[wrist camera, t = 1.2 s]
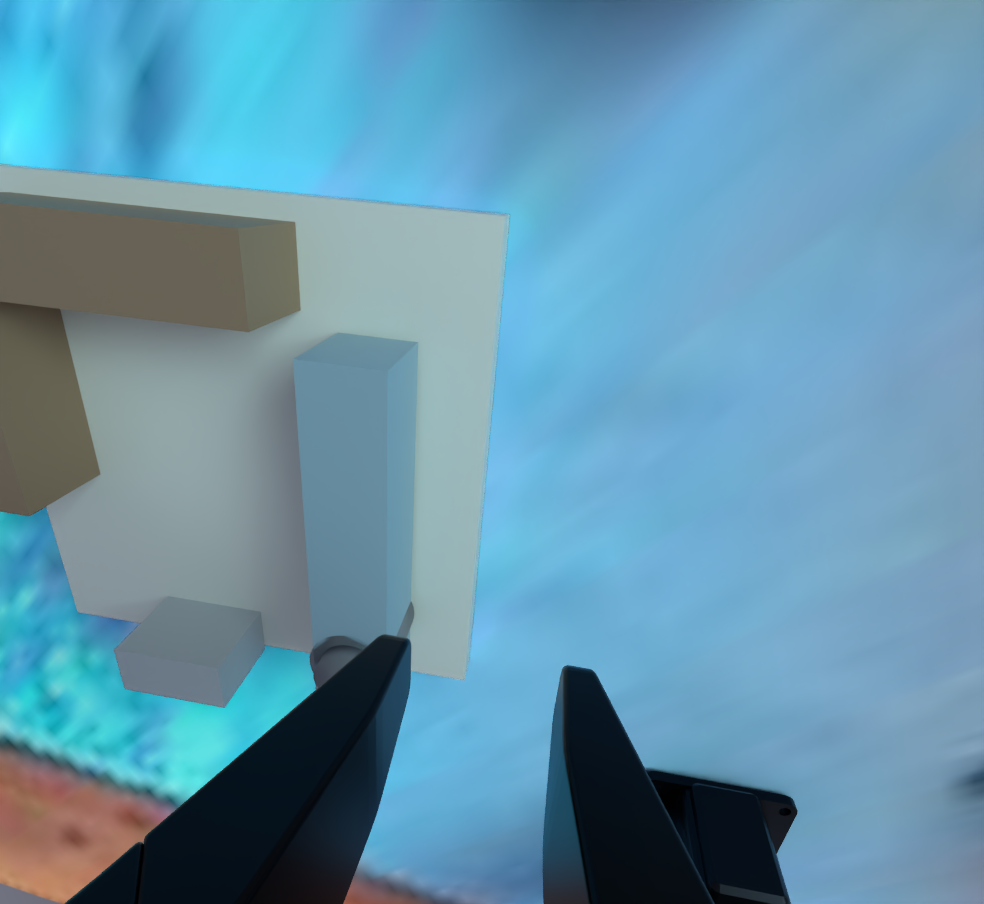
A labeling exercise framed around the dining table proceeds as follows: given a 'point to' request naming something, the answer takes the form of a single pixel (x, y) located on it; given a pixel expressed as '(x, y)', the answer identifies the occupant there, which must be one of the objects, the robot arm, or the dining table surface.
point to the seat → (230, 402)
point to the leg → (357, 491)
